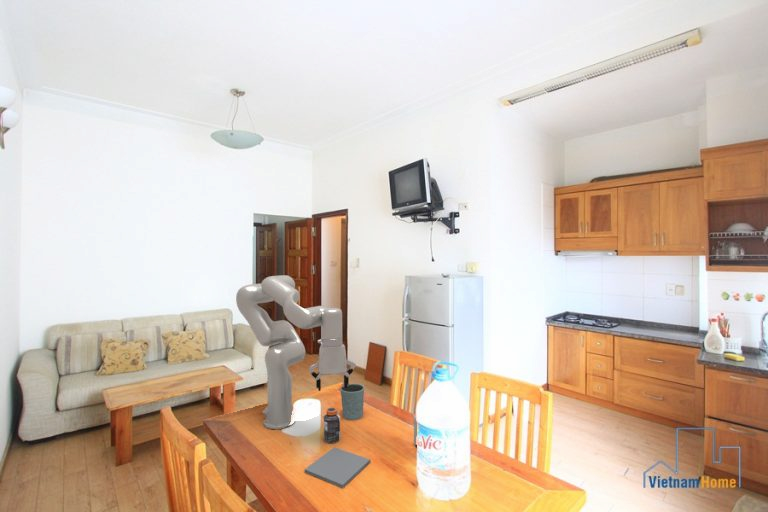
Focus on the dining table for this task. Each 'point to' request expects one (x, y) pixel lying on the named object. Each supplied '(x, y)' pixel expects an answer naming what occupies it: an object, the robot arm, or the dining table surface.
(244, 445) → the dining table surface
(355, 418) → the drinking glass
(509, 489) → the dining table surface
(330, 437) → the pill bottle
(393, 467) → the dining table surface
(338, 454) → the slate mat
